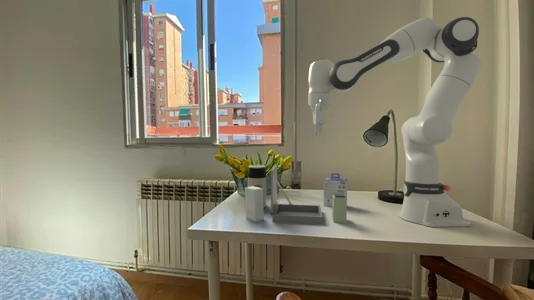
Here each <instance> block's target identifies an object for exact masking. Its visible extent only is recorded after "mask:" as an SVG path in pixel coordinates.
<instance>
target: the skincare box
mask: <svg viewBox="0 0 534 300" xmlns="http://www.w3.org/2000/svg"><path fill="white" fill-rule="evenodd" d="M244 199H245V202H244V205H245V206H244V207H245V219H248V220H250V221H252V222H259V221H264V219H265V217H264V213H265V212H264V207H263V188H259V187H254V186H251V187H248V186H246V187H244Z"/></svg>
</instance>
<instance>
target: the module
mask: <svg viewBox="0 0 534 300" xmlns="http://www.w3.org/2000/svg"><path fill="white" fill-rule="evenodd" d="M347 197H348V196H347ZM347 197H346V196H345V195H344V194H334V195H333V198H332V206H331V207H332V208H331V209H332V212H331V219H332V223H336V224H337V223H341V224H342V223H343V224H347V215H348V214H347V212H348V209H347V207H348V198H347Z"/></svg>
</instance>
